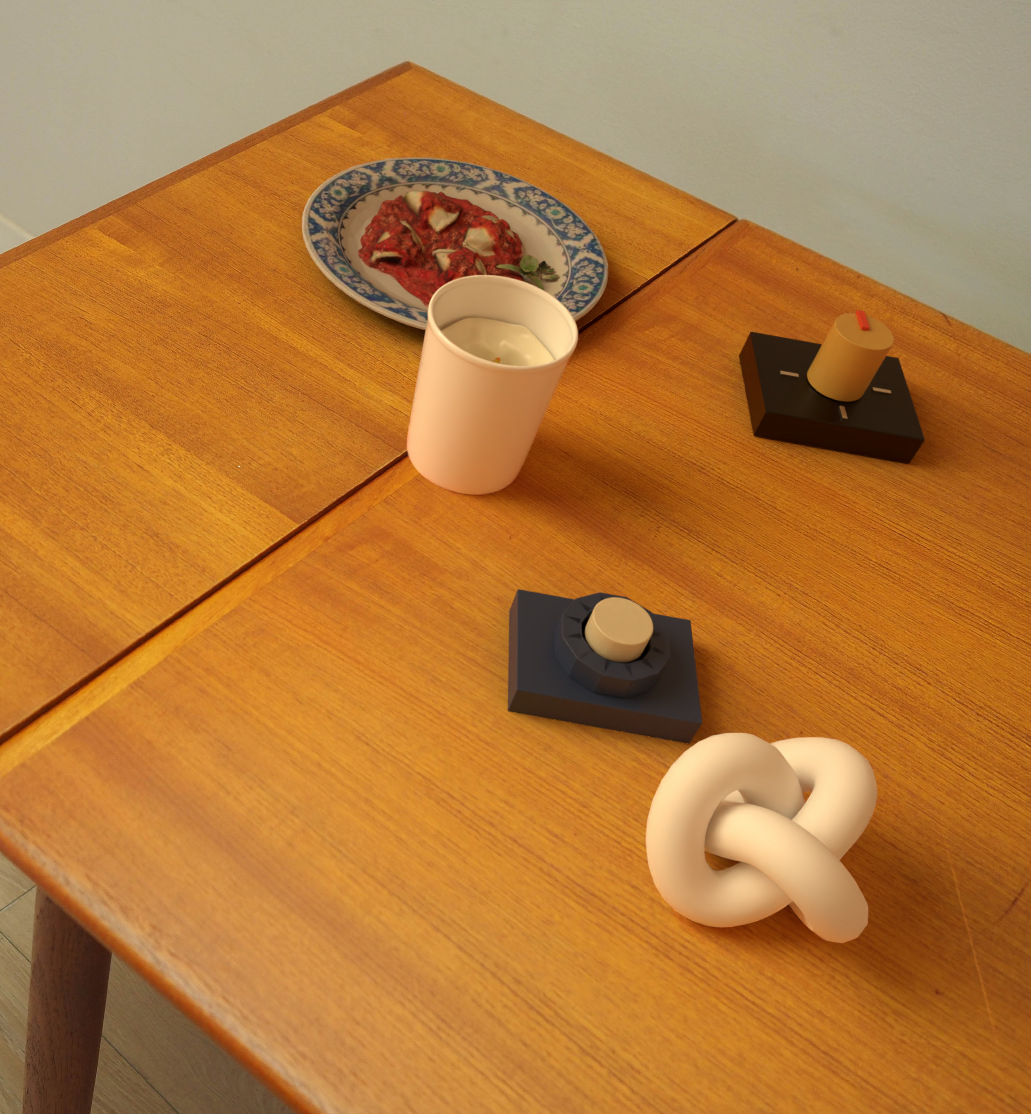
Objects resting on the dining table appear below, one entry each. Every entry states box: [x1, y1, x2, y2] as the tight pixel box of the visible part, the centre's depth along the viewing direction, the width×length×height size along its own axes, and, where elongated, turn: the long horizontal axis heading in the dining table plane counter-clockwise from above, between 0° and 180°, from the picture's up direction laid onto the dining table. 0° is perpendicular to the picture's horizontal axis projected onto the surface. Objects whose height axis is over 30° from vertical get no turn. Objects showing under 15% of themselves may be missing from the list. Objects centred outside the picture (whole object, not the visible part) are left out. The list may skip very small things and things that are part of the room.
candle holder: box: [406, 275, 579, 496], centre depth 86 cm, size 10×10×12 cm
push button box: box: [507, 588, 703, 745], centre depth 76 cm, size 11×8×4 cm
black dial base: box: [738, 331, 926, 465], centre depth 98 cm, size 12×10×3 cm
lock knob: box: [807, 309, 895, 402], centre depth 95 cm, size 4×4×5 cm
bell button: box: [585, 597, 653, 662], centre depth 74 cm, size 4×4×2 cm
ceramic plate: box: [301, 156, 609, 331], centre depth 105 cm, size 26×26×3 cm
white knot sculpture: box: [645, 732, 878, 944], centre depth 66 cm, size 11×12×9 cm
